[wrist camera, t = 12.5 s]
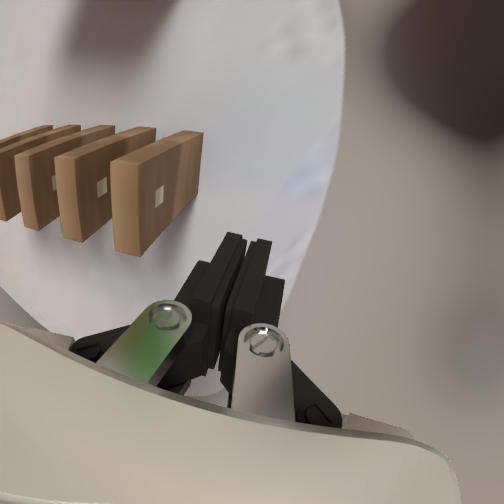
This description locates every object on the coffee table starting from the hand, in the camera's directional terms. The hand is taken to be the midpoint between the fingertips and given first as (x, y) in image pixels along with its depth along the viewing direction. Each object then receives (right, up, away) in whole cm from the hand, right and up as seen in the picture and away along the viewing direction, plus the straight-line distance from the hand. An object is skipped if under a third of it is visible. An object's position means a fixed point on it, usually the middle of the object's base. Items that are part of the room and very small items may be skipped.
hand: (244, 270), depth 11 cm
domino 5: (-5, +8, +11) cm, 14 cm away
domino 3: (-12, +9, +12) cm, 19 cm away
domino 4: (-8, +8, +11) cm, 16 cm away
